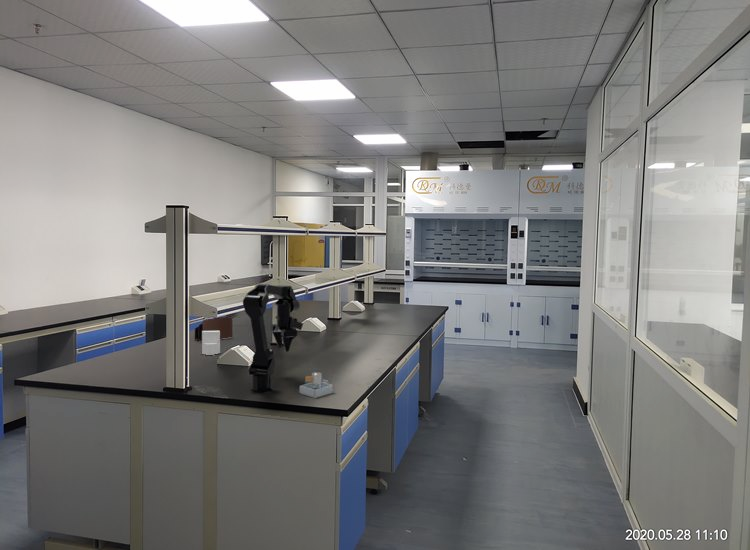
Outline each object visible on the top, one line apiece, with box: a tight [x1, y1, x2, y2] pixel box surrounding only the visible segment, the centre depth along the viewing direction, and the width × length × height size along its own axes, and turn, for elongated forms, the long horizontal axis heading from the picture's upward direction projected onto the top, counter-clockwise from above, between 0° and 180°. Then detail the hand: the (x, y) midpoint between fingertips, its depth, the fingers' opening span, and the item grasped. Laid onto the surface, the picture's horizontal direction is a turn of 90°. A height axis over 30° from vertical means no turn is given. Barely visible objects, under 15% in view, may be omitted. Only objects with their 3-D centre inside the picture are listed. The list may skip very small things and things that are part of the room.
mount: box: [304, 376, 329, 385], centre depth 222 cm, size 7×7×2 cm
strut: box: [304, 371, 322, 390], centre depth 208 cm, size 4×6×7 cm, turn 119°
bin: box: [298, 382, 334, 399], centre depth 209 cm, size 10×9×3 cm
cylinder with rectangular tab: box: [201, 331, 221, 356], centre depth 277 cm, size 9×9×12 cm
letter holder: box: [194, 316, 234, 341], centre depth 316 cm, size 10×20×14 cm, turn 137°
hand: (283, 349), depth 231 cm, fingers open, 9 cm apart
